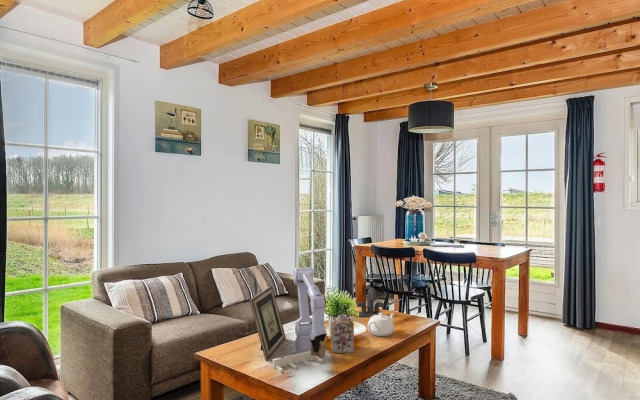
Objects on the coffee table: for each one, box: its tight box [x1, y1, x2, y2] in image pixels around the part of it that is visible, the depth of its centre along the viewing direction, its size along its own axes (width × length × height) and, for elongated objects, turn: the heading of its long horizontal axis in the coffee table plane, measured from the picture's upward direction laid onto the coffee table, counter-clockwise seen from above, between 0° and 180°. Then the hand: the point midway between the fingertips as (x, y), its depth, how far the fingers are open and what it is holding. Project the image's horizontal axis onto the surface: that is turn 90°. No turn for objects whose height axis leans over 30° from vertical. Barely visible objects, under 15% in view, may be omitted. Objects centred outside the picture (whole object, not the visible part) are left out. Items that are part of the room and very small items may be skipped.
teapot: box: [366, 312, 395, 337], centre depth 253 cm, size 25×16×12 cm, turn 135°
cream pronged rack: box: [271, 351, 324, 374], centre depth 205 cm, size 8×24×5 cm, turn 122°
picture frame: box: [249, 285, 287, 361], centre depth 227 cm, size 33×10×30 cm, turn 168°
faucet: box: [356, 287, 385, 318], centre depth 286 cm, size 18×16×20 cm
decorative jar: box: [329, 313, 355, 354], centre depth 226 cm, size 12×12×18 cm
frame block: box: [311, 340, 327, 358], centre depth 201 cm, size 6×4×6 cm, turn 67°
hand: (318, 350), depth 201 cm, fingers closed on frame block, 4 cm apart
